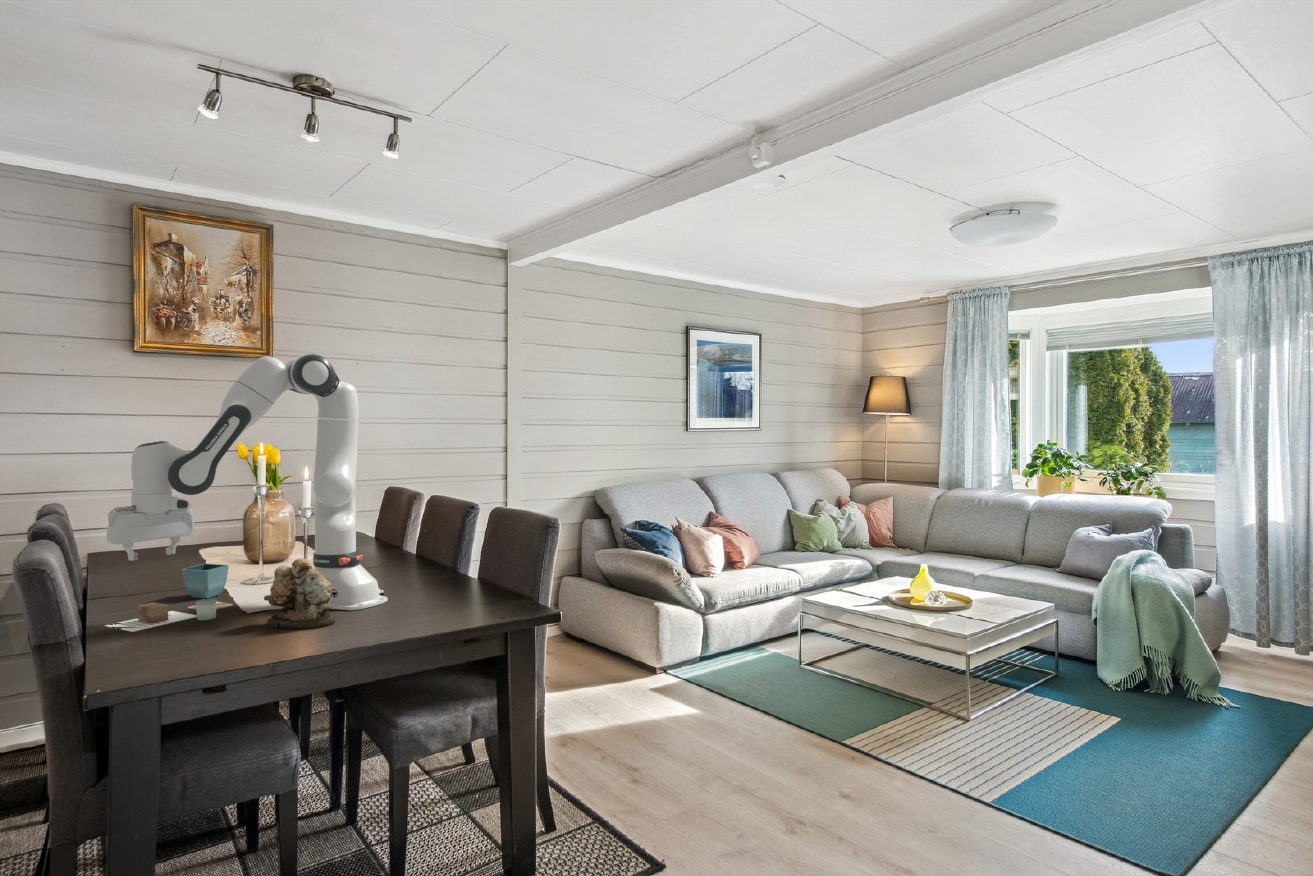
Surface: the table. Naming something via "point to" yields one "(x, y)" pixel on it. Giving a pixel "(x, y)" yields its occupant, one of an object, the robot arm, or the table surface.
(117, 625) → the letter
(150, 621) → the walnut block
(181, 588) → the table surface
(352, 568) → the robot arm
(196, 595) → the flower pot
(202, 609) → the jar
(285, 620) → the owl figurine
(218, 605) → the coaster
